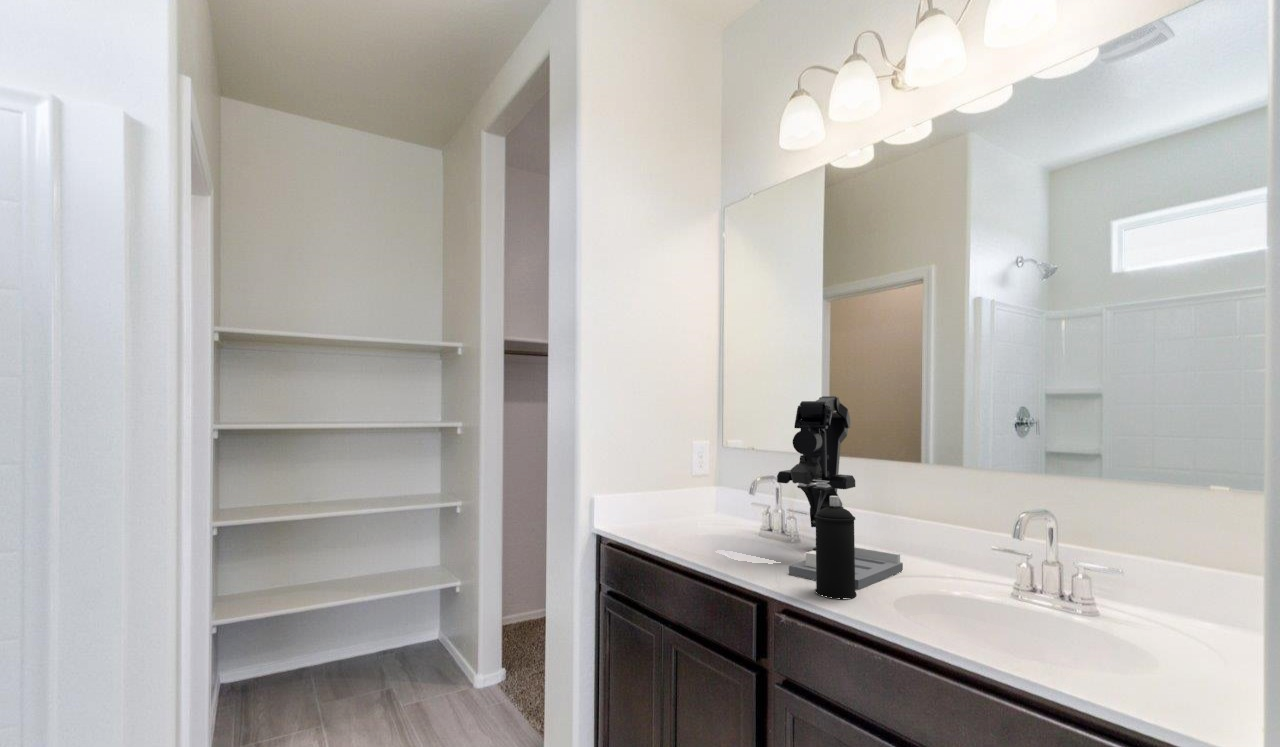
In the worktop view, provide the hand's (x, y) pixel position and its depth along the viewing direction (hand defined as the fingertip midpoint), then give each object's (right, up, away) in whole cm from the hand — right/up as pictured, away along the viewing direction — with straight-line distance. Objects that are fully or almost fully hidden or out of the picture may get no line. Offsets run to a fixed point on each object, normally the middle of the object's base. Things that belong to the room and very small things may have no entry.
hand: (815, 514), depth 157 cm
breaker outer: (-3, -9, -12) cm, 15 cm away
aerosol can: (-3, -11, -27) cm, 29 cm away
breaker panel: (+4, -12, -10) cm, 16 cm away
